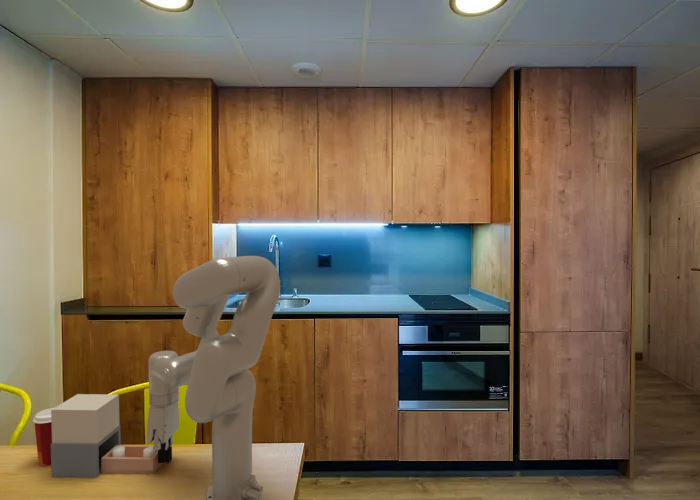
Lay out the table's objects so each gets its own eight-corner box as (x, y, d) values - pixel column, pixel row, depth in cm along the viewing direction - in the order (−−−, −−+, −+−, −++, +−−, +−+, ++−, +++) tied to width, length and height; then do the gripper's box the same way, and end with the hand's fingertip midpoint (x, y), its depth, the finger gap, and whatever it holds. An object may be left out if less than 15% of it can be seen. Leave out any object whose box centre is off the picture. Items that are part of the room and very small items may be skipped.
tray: (165, 459, 118) (164, 442, 118) (153, 473, 111) (152, 456, 111) (116, 458, 118) (116, 442, 118) (101, 472, 111) (101, 455, 111)
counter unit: (120, 454, 120) (119, 393, 120) (96, 477, 109) (95, 411, 108) (80, 453, 120) (78, 393, 120) (51, 477, 109) (49, 410, 108)
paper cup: (74, 454, 120) (72, 407, 120) (52, 469, 113) (51, 419, 112) (49, 452, 121) (48, 405, 120) (26, 467, 113) (24, 417, 113)
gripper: (163, 386, 121) (164, 447, 122) (136, 408, 106) (137, 477, 107) (188, 386, 121) (189, 447, 122) (165, 408, 106) (166, 478, 107)
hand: (165, 461), depth 115 cm, fingers closed
